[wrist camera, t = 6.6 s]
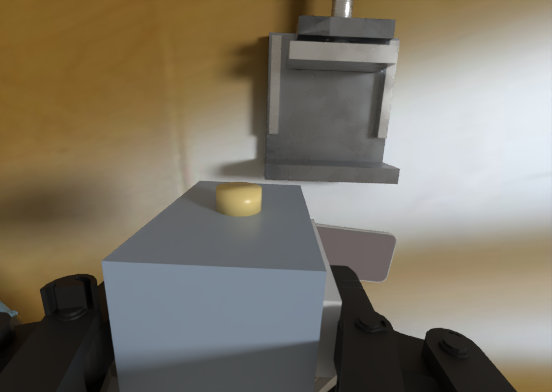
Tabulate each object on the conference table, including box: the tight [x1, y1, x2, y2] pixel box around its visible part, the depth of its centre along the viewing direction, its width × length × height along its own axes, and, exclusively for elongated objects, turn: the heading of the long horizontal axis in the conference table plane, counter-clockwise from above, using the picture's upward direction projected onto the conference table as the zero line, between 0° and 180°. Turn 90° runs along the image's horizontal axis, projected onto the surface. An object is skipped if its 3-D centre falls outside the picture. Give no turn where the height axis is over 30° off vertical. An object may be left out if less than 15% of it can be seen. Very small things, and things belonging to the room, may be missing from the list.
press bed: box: [264, 15, 400, 184], centre depth 30 cm, size 14×15×7 cm
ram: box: [287, 0, 399, 72], centre depth 27 cm, size 10×10×5 cm
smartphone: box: [316, 224, 397, 282], centre depth 38 cm, size 7×1×15 cm
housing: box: [101, 181, 327, 392], centre depth 11 cm, size 5×7×8 cm
